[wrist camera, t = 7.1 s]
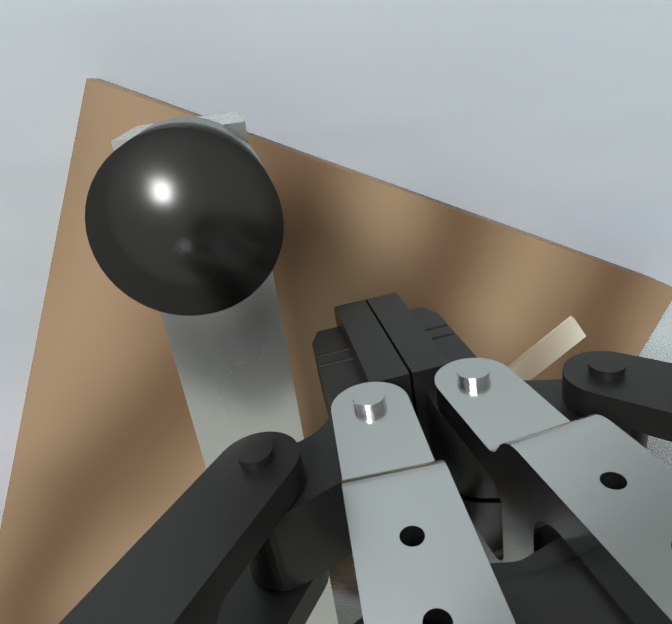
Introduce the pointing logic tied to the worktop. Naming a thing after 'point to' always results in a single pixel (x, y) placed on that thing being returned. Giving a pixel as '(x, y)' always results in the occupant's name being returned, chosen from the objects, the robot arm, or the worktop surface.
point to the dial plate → (299, 329)
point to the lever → (208, 282)
